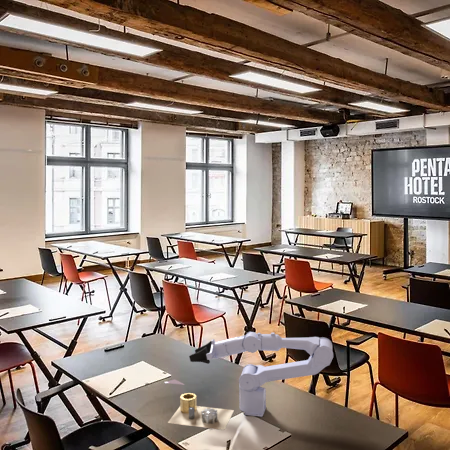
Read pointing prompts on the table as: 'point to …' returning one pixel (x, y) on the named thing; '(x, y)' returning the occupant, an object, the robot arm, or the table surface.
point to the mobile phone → (174, 382)
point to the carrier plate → (184, 419)
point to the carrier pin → (191, 413)
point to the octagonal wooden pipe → (188, 402)
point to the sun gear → (209, 416)
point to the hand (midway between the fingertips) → (192, 355)
